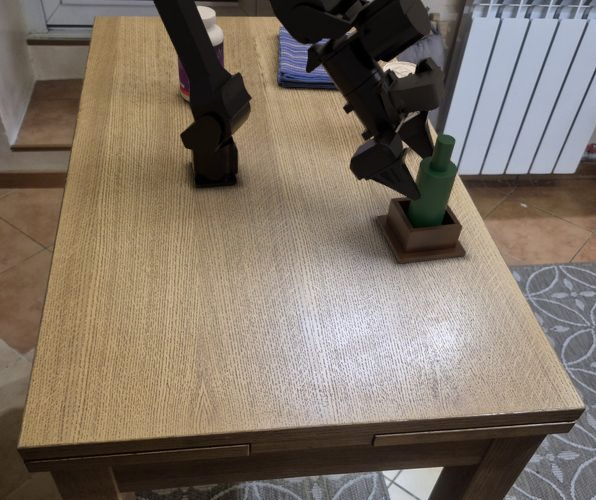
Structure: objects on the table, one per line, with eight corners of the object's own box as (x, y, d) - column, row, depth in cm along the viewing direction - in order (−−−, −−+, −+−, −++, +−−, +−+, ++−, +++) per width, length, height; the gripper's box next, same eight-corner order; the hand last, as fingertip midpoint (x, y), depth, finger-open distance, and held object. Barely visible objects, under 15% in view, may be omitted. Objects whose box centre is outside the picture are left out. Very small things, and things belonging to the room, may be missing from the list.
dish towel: (277, 88, 116) (277, 73, 114) (277, 35, 132) (277, 21, 130) (367, 93, 117) (369, 78, 115) (356, 40, 133) (358, 26, 131)
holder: (399, 263, 86) (405, 238, 82) (376, 219, 92) (381, 194, 88) (464, 256, 88) (473, 230, 84) (437, 213, 94) (444, 188, 90)
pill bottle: (187, 109, 109) (180, 24, 98) (175, 88, 114) (168, 4, 103) (230, 104, 111) (229, 20, 100) (217, 83, 116) (215, 1, 105)
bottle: (410, 246, 87) (435, 151, 76) (398, 224, 90) (420, 130, 79) (442, 242, 88) (472, 148, 77) (429, 220, 91) (456, 127, 80)
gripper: (391, 77, 66) (465, 193, 72) (433, 16, 77) (494, 120, 83) (316, 127, 73) (388, 228, 79) (365, 65, 85) (425, 157, 91)
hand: (427, 180), depth 83 cm, fingers open, 9 cm apart
